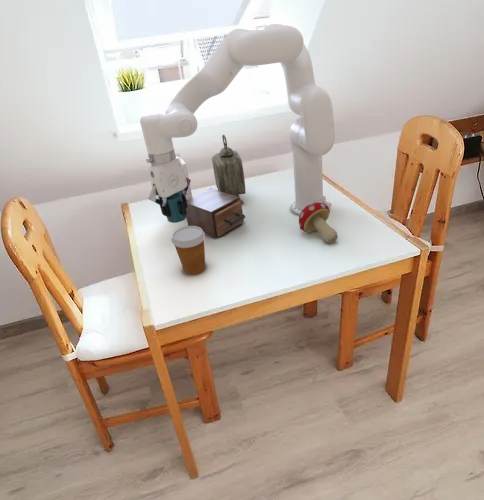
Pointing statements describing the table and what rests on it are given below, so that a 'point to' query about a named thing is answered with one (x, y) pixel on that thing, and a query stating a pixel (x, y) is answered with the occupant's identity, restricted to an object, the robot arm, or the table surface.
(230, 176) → the green bell
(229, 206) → the drawer
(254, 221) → the table surface
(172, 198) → the kettle
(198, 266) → the disposable coffee cup
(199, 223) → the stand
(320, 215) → the decorative mushroom
